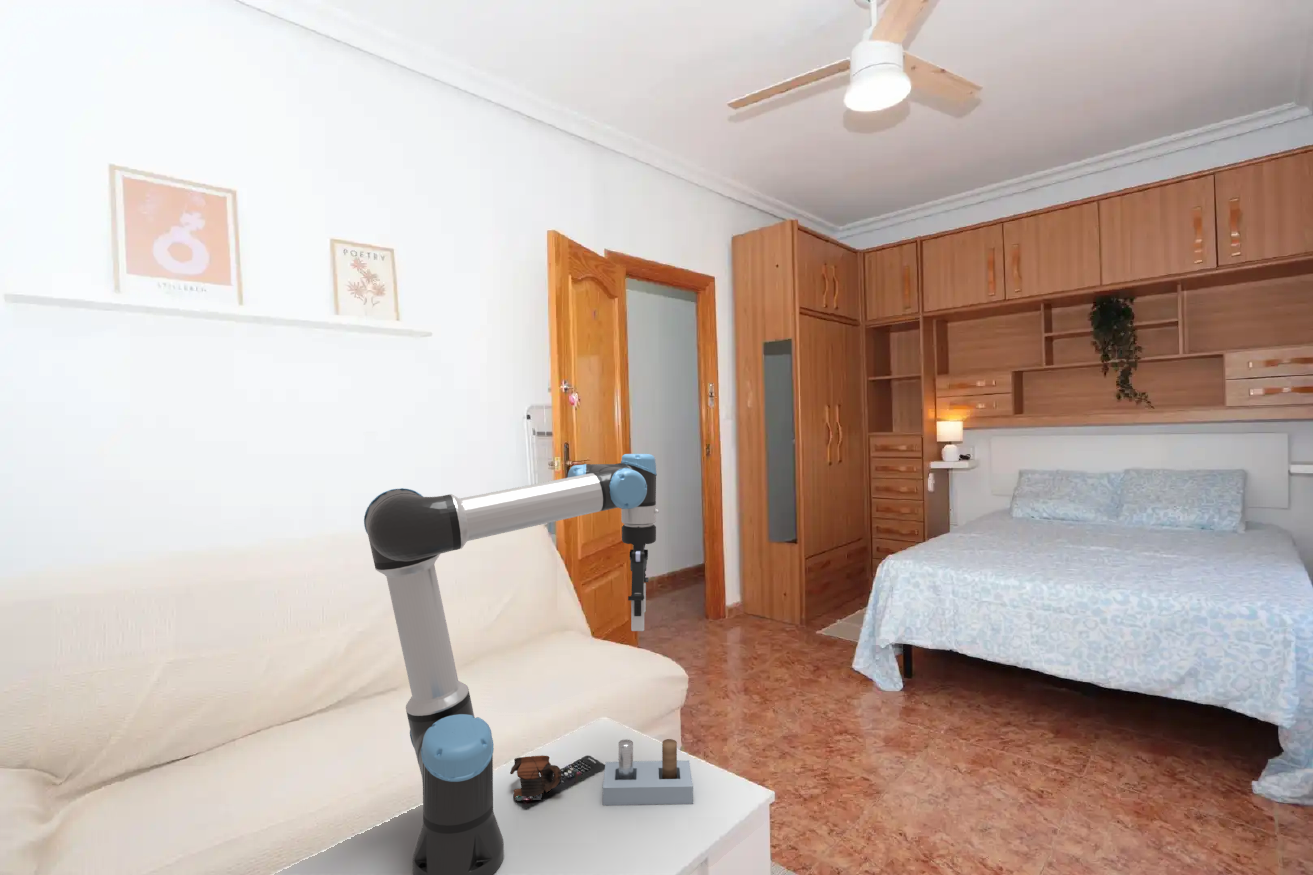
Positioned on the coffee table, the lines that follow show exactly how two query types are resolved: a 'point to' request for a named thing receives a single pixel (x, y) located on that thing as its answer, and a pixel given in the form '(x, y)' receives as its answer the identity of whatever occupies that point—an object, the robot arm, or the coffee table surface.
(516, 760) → the pottery mug
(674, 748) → the walnut peg
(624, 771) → the grey steel peg
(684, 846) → the coffee table surface
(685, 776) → the socket block
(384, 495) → the robot arm
